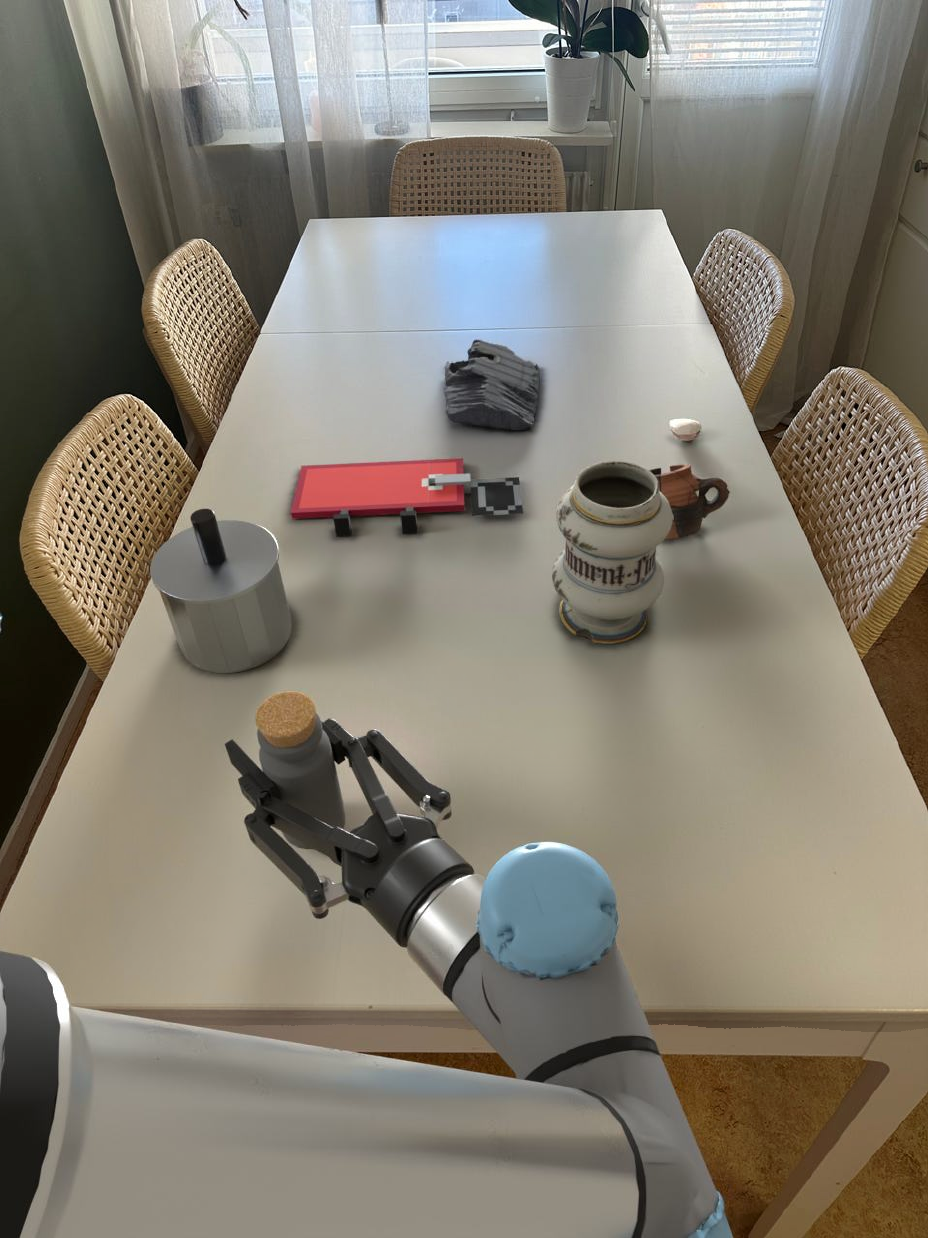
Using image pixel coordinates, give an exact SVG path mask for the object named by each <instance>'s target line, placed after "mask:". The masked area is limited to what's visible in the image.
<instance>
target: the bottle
mask: <svg viewBox="0 0 928 1238" xmlns="http://www.w3.org/2000/svg"><path fill="white" fill-rule="evenodd" d="M254 719H255V725H256V727H257V731H256V737H257V742H258V744H259V747H260V748H259V752H258V758H259V763H260V766H261V770H262V771H263V772H264V773H265V774H266V776H267V777H268V778H269V779H270V780H271V781H272V782H273V783H274V784H275V785H276V789H277V792H278V795H279V799H280V800H281V801H283V802H285V803H287V804H289V805H291V806H293V807H295V808H297V809H299V810H301V811H303V812H304V813H306V814H308V815H310V816H312V817H314V818H316V819H318V820H320V821H322V822H324V823H325V824H327V825H329V826H331V827H333V828H335V827H339V828H341V829H343V830H344V827H345V825H346V809H345V804H344V799H343V795H342V790H341V786H340V785H341V784H340V781H339V775H338V772H337V771H338V770H337V767H336V766H337V765H336V762H335V761H334V757H333V752H332V748H331V744H330V741H329V738H328V736H327V734H326V733H325V731H324V730H323V729H322V723H321V721H322V720H321V717H320V716H319V714H318V713H317V707H316V705H315V702H314V701H313V699H312V698H311V697H310V696H308V695H307V694H305V693H302V692H299V691H294V690H292V691H290V690H289V691H288V690H287V691H281V692H278V693H275V694H273V695H270V696H269V697H267V698H266V699H265V700H263V701H262V703H261V704H260V705H259V706H258V708H257V709H256V712H255V717H254ZM281 834H282V835H283V837H284V839H285V841H286V842H287V843H288V844H291V845H292V846H294V847H296V848H299V849H303V850H314V849H313V848H311V847H309V846H308V845H306V844H304V843H302V842H300V841H298V840H297V839H295V838H293V837H291V836H289V835H287V834H285V833H284V832H282V831H281Z"/></svg>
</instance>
